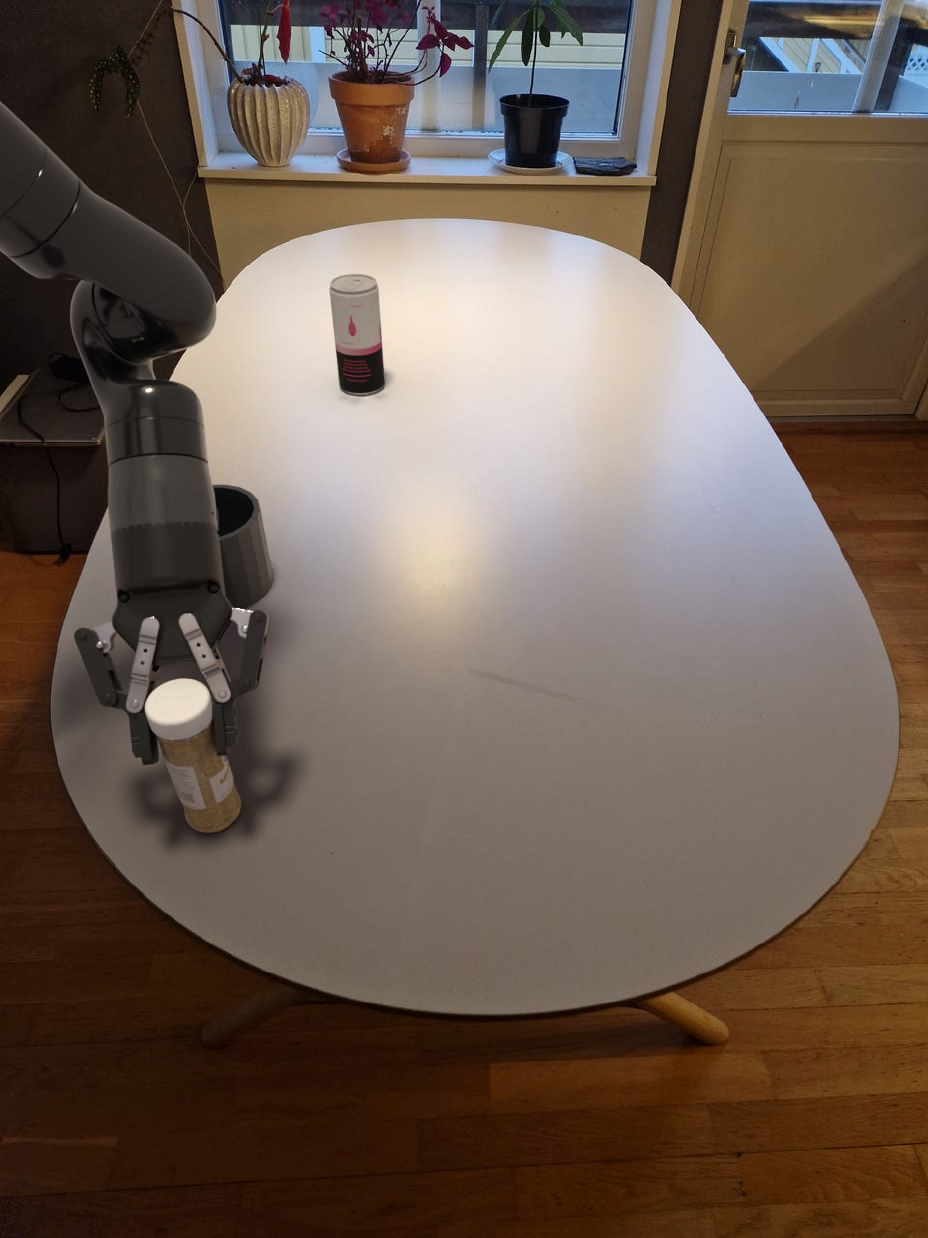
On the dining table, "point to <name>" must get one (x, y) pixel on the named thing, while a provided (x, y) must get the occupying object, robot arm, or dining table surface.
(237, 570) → the dark gray cylindrical container
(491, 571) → the dining table surface
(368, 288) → the beverage can
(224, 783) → the sprinkles bottle
